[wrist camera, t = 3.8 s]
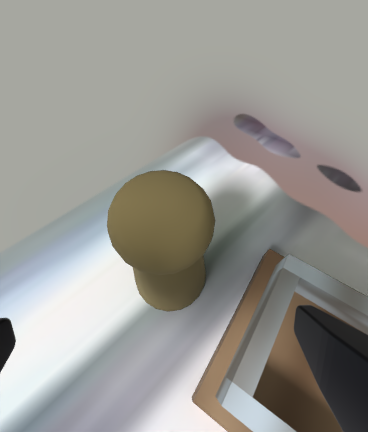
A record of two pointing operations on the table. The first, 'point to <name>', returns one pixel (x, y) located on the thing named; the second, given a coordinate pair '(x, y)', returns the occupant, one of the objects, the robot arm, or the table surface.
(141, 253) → the olive brown knob
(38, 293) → the table surface
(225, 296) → the table surface
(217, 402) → the socket board
